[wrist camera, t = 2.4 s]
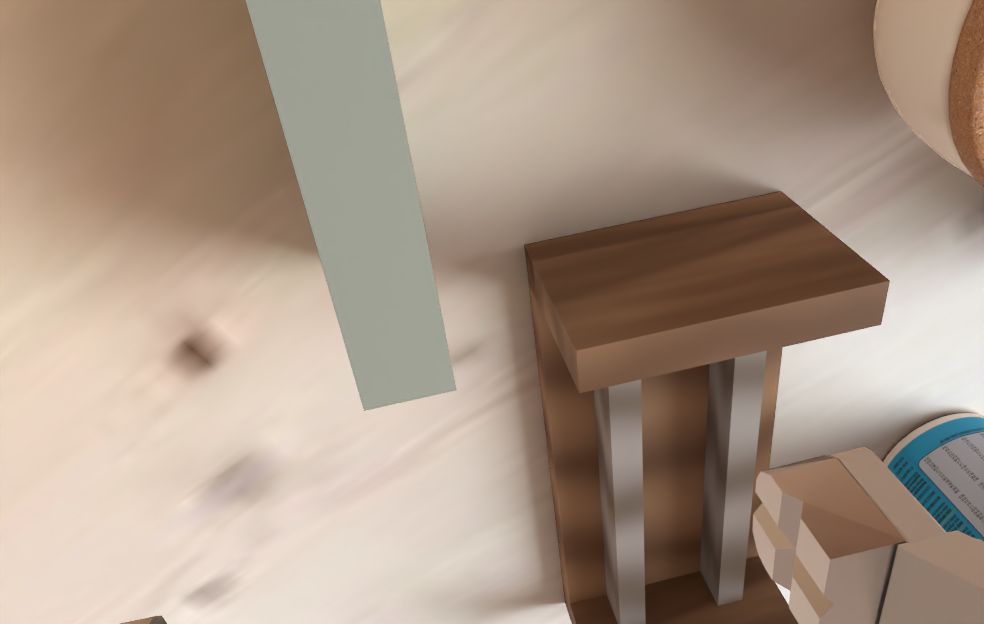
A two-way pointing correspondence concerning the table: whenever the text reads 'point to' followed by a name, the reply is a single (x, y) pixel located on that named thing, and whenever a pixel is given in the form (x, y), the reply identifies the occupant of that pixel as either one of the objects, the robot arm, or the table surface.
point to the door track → (678, 398)
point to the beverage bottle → (945, 470)
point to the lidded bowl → (936, 73)
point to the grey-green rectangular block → (358, 189)
